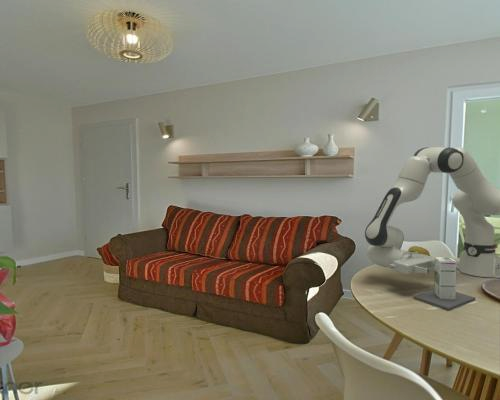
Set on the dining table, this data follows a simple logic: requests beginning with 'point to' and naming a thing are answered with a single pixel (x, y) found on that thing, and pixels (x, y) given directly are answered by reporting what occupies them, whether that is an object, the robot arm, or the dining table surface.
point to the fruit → (419, 250)
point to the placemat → (444, 300)
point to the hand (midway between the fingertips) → (435, 269)
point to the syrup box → (445, 278)
